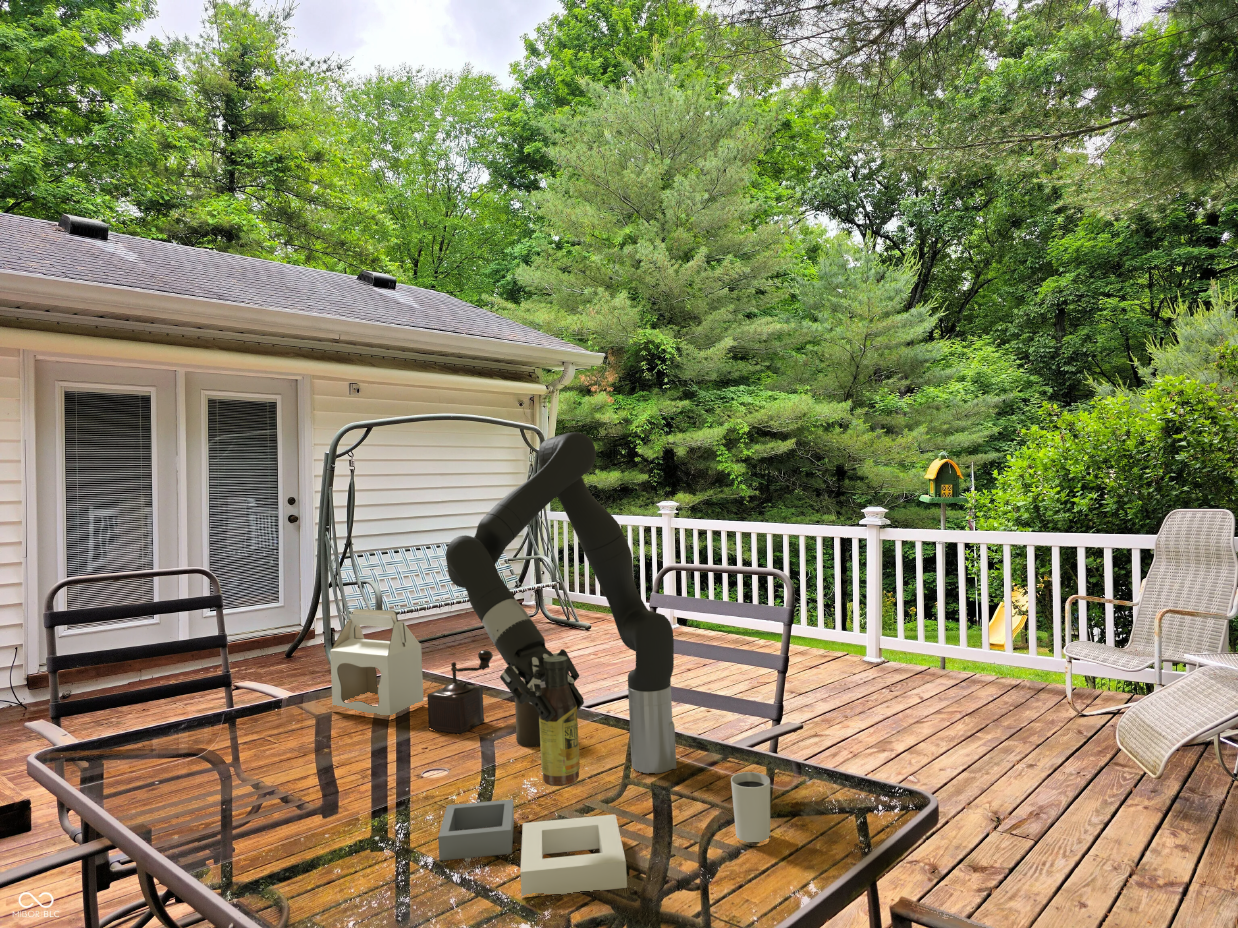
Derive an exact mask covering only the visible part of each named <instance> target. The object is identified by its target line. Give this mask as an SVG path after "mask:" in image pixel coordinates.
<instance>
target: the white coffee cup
mask: <svg viewBox="0 0 1238 928" xmlns="http://www.w3.org/2000/svg"><path fill="white" fill-rule="evenodd" d="M730 783H731V784H730V785H731V792H732V795H731V796H732V805H733V815H734V816H733V817H734V825H735V826H734V827H735V837H736V836H737V838H739V839H740V840H743V841H746V842H760V841H763V840H766V839H768V838H769V836H770V837H771V780H770V777H769V776H768V775H766V774H763V773H762V772H761V773H760V772H757V771H756V772H755V771H754V772H753V771H744V772H738V773H736V774H734V775H732V776H731V777H730Z"/></svg>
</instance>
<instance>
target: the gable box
mask: <svg viewBox="0 0 1238 928" xmlns="http://www.w3.org/2000/svg"><path fill="white" fill-rule="evenodd" d="M348 616H349V617H350V619H349V618H348V619H346V623H345V625H344V627H343V628H342V630H341V632H340V633H339V635H338V637H337V638H336V640H335V641H334V643H333V645H332V647H331V649H330V650H329V651H330V656H329V657H330V676H331V677H330V679H331V698H332V699H331V700H332V705H331V706H333V705H337V706H342V707H346V708H349V709H354V710H357V711H362V712H367V713H377V714H380V715H393V714H395V713H397V712H399V711H401V710H403V709H405V708H407V707H409V706H411V705H414V704H415V703H418V702H421V701H424V684H423V683H424V682H423V680H424V678H423V659H422V657H423V655H422V644H421V643H420V642H419V640H417V638H416V636H415V635H414V634H413V633H412V632H411V630H410V629H409V627H408V626H407V625H406V624H405V623H404V622H403V621H399V618H398V613H397V612H396V611H395V610H384V609H370V608H369V609H367V608H366V609H365V608H354V609H353V610H352V613H349V614H348ZM361 626H362V627H363V626H366V627H378V628H379V627H381V628H390V629H391V630H392V631H391V636H390V640H385V639H384V640H383V639H373V638H372V639H369V638H365V636H364V634H363V631H362V628H361ZM377 670H379V672H380V679H379V683H378V684H377V682H378V681H377V680H378V675H377V674H378V673H377ZM367 692H370V693H375V694H378V697H379V704H378V706H372V705H369V704H367V703H365V702H362V701H354V702H351V703H345V702H344V701H345V700H348V699H350V698H354V697H355V696H359V695H360V694H365V693H367ZM424 702H425V701H424Z"/></svg>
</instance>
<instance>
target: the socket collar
mask: <svg viewBox="0 0 1238 928" xmlns="http://www.w3.org/2000/svg"><path fill="white" fill-rule="evenodd" d="M617 820H618V819H617V816H616V814H606V815H595V816H594V815H593V816H586V817H575V818H564V819H563V818H562V819H554V820H553V819H552V820H551V819H550V820H544V821H543V820H541V821H540V820H539V821H531V822H522V832H521V833H522V835H521V852H520V872H519V873H520V887H521V888H520V892H521V893H520V895H521V897H522V896H524V895H526V894H532V893H544V894H561V895H568V894H567V893H571V894H574V893H573V892H580V891H590V892H594V891H593V890H600V891H607V890H618V889H619V890H620V889H626V888H627V889H628V882H627V881H628V879H627V877H628V876H627V861H626V860H627V859H626V856H625V852H624V847H623V842H622V837H621V834H620V829H619V825H618V821H617ZM598 849H599V852H598V853H588V854H577V855H568V856H558V857H548V858H544V855H550V854H559V853H568V852H577V851H578V852H579V851H588V850H598ZM580 893H581V892H580Z"/></svg>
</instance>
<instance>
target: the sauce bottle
mask: <svg viewBox="0 0 1238 928" xmlns="http://www.w3.org/2000/svg"><path fill="white" fill-rule="evenodd" d="M543 664H544V669H545V685H546V687H545V689H544V692H543V693H542V695H544V696H545V697H546V699H547V700H548V702H549V703H550V705H551V706H552V708H553V710H554V711H555V716H554V717H553V719H552V720H551V721H549V722H546V721H545V720H544V719H543V718H541V716H539V724H540V746H539V747H540V762H541V772H542V780H543V782H544V784H546V785H548V786H551V787H565V786H568V785H571V784H574V783H575V782H577V781H578V779H579V777H580V764H581V763H580V746H579V745H580V744H579V724H578V723H579V722H578V710H577V704H576V702H575V699H574V697H573V694H572V692H571V689H570V687H569V684H568V683H569V681H568V672H567V667H568V658H567V657H565V656H551V657H547V658H545V659H544V660H543ZM542 695H541V696H542Z"/></svg>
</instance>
